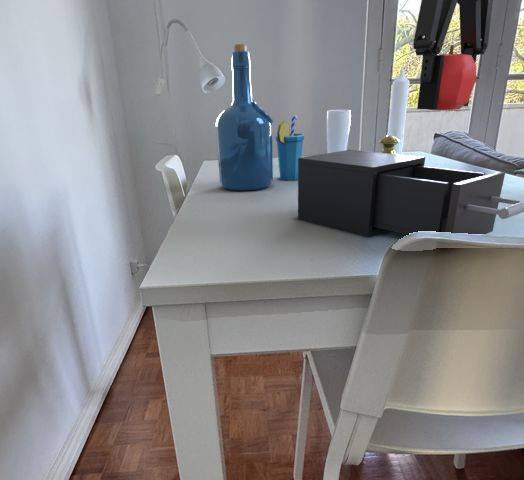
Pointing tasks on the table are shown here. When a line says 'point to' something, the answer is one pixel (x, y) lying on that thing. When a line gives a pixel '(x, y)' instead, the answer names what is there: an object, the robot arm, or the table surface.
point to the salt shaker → (388, 144)
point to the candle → (398, 109)
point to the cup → (288, 150)
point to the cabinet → (344, 187)
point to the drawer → (440, 200)
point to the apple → (456, 81)
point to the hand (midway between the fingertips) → (443, 107)
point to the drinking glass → (337, 130)
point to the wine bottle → (244, 134)
